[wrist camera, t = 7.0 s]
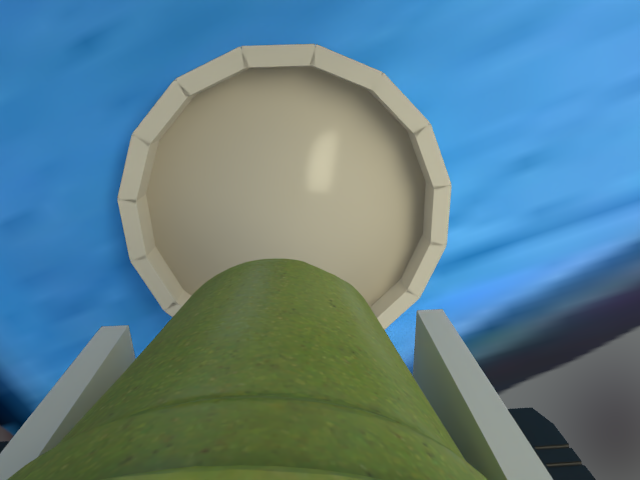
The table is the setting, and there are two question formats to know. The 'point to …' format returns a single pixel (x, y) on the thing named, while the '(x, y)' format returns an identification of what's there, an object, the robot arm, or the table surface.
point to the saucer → (286, 177)
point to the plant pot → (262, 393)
